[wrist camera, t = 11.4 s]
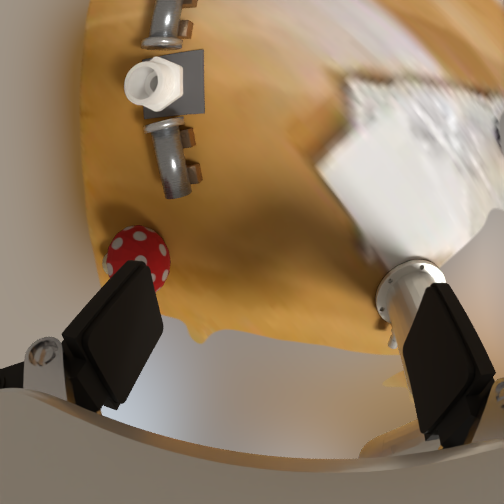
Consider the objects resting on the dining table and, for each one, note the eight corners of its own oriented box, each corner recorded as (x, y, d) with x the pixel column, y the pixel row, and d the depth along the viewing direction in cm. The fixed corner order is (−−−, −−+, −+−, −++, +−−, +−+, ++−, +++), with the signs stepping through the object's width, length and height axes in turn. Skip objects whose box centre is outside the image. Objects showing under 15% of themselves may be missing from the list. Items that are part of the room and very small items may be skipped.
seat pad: (204, 113, 35) (204, 113, 34) (145, 118, 36) (144, 119, 36) (203, 49, 30) (202, 49, 30) (143, 60, 32) (142, 59, 31)
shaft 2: (204, 185, 40) (189, 198, 34) (171, 189, 41) (153, 203, 36) (191, 115, 35) (173, 117, 30) (157, 123, 36) (135, 128, 31)
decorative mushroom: (82, 296, 43) (121, 303, 34) (82, 230, 44) (121, 216, 35) (135, 293, 52) (185, 298, 43) (134, 235, 53) (184, 224, 44)
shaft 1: (189, 50, 31) (171, 43, 25) (155, 51, 31) (133, 46, 26) (200, -12, 26) (184, -27, 21) (165, -8, 26) (146, -21, 21)
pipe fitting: (194, 57, 31) (168, 48, 24) (194, 108, 34) (168, 110, 27) (151, 64, 32) (118, 59, 25) (152, 112, 35) (120, 116, 28)
